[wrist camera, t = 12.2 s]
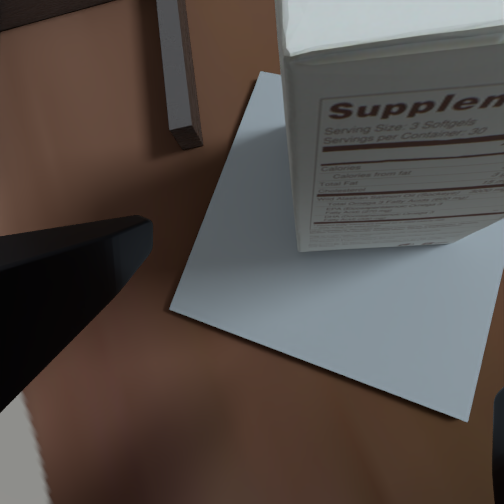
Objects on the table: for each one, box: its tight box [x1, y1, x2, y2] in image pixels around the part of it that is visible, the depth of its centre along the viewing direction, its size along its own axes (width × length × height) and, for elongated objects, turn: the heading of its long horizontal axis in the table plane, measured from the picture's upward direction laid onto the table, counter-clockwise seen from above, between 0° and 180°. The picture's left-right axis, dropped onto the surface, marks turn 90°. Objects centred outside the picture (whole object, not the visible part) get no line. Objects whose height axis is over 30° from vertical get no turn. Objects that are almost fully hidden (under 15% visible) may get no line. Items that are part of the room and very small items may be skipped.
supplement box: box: [275, 0, 504, 252], centre depth 10 cm, size 7×7×13 cm
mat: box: [169, 71, 504, 422], centre depth 17 cm, size 14×14×1 cm
